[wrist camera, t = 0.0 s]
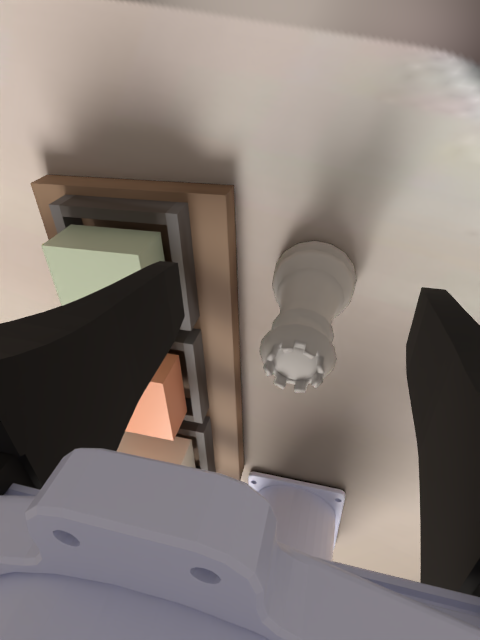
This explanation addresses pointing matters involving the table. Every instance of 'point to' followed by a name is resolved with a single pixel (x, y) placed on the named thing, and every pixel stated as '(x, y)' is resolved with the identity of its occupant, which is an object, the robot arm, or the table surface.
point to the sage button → (97, 257)
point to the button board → (196, 284)
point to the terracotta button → (161, 403)
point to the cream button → (158, 448)
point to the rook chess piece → (306, 313)
